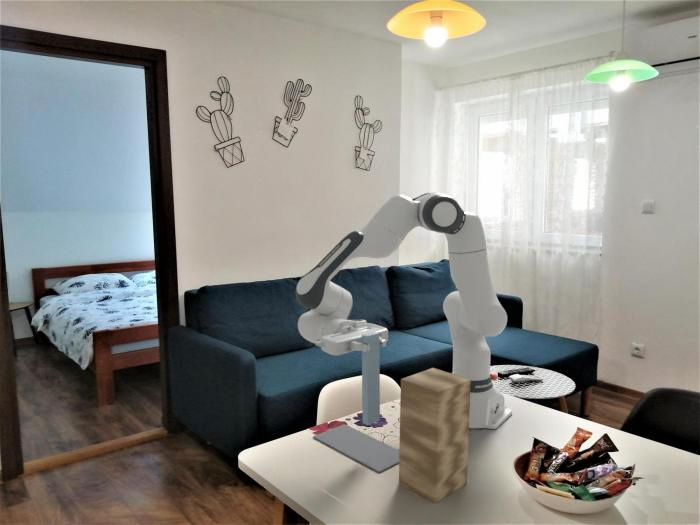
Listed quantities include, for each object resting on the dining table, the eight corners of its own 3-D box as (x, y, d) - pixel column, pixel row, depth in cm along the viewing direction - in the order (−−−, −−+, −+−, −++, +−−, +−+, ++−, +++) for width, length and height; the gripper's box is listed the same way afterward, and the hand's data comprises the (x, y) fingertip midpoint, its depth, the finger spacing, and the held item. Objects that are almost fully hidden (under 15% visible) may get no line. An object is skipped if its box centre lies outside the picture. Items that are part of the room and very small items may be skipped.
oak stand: (430, 466, 137) (433, 367, 134) (466, 483, 129) (470, 379, 126) (398, 483, 129) (400, 378, 126) (435, 503, 121) (438, 392, 118)
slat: (374, 331, 143) (379, 333, 141) (374, 418, 146) (379, 420, 144) (361, 334, 140) (367, 336, 138) (362, 423, 143) (367, 425, 142)
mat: (344, 425, 161) (344, 424, 161) (411, 457, 142) (411, 455, 142) (313, 437, 153) (313, 436, 153) (379, 473, 134) (379, 471, 134)
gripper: (311, 330, 142) (346, 341, 132) (366, 318, 156) (402, 327, 146) (311, 354, 143) (346, 366, 133) (366, 339, 157) (402, 350, 147)
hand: (376, 346), depth 139 cm, fingers closed on slat, 4 cm apart
